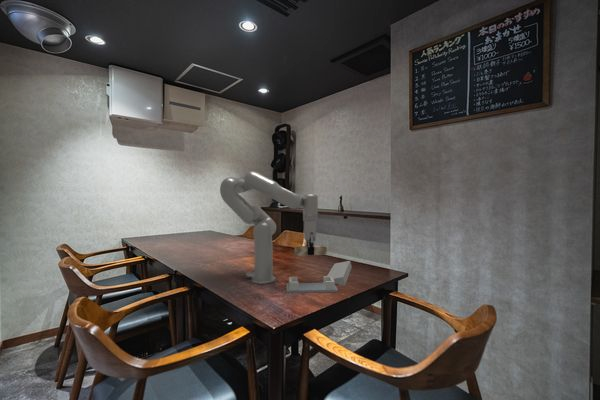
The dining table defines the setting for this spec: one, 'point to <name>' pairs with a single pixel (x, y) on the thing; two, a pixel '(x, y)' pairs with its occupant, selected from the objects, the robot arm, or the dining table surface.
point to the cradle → (311, 285)
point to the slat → (304, 250)
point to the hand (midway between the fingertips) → (310, 253)
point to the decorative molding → (340, 272)
